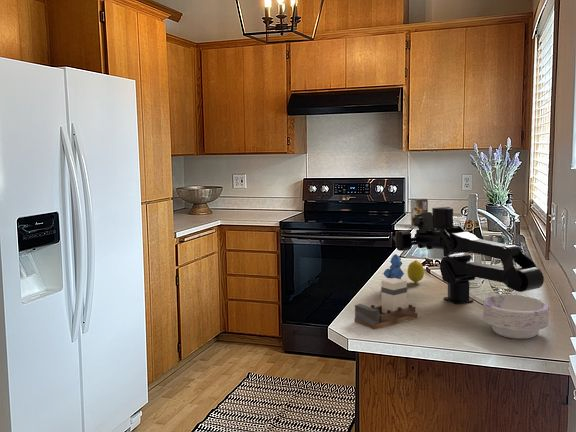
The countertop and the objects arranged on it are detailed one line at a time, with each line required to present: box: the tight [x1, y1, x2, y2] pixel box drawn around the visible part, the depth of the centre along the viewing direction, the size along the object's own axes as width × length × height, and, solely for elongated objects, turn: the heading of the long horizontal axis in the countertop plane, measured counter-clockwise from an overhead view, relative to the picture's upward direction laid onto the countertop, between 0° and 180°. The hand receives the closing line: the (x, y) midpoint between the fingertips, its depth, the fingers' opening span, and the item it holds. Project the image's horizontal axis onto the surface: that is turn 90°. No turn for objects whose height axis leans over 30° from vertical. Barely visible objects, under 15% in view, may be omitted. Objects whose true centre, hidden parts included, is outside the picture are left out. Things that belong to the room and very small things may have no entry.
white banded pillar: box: [380, 278, 408, 314], centre depth 156 cm, size 5×5×9 cm
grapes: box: [382, 253, 405, 280], centre depth 184 cm, size 12×7×12 cm, turn 176°
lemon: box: [407, 259, 425, 284], centre depth 193 cm, size 6×6×8 cm
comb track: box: [353, 301, 419, 331], centre depth 154 cm, size 16×8×5 cm, turn 124°
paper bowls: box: [482, 294, 550, 340], centre depth 141 cm, size 15×15×8 cm
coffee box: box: [410, 198, 429, 229], centre depth 318 cm, size 9×6×16 cm
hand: (404, 236), depth 191 cm, fingers open, 9 cm apart
